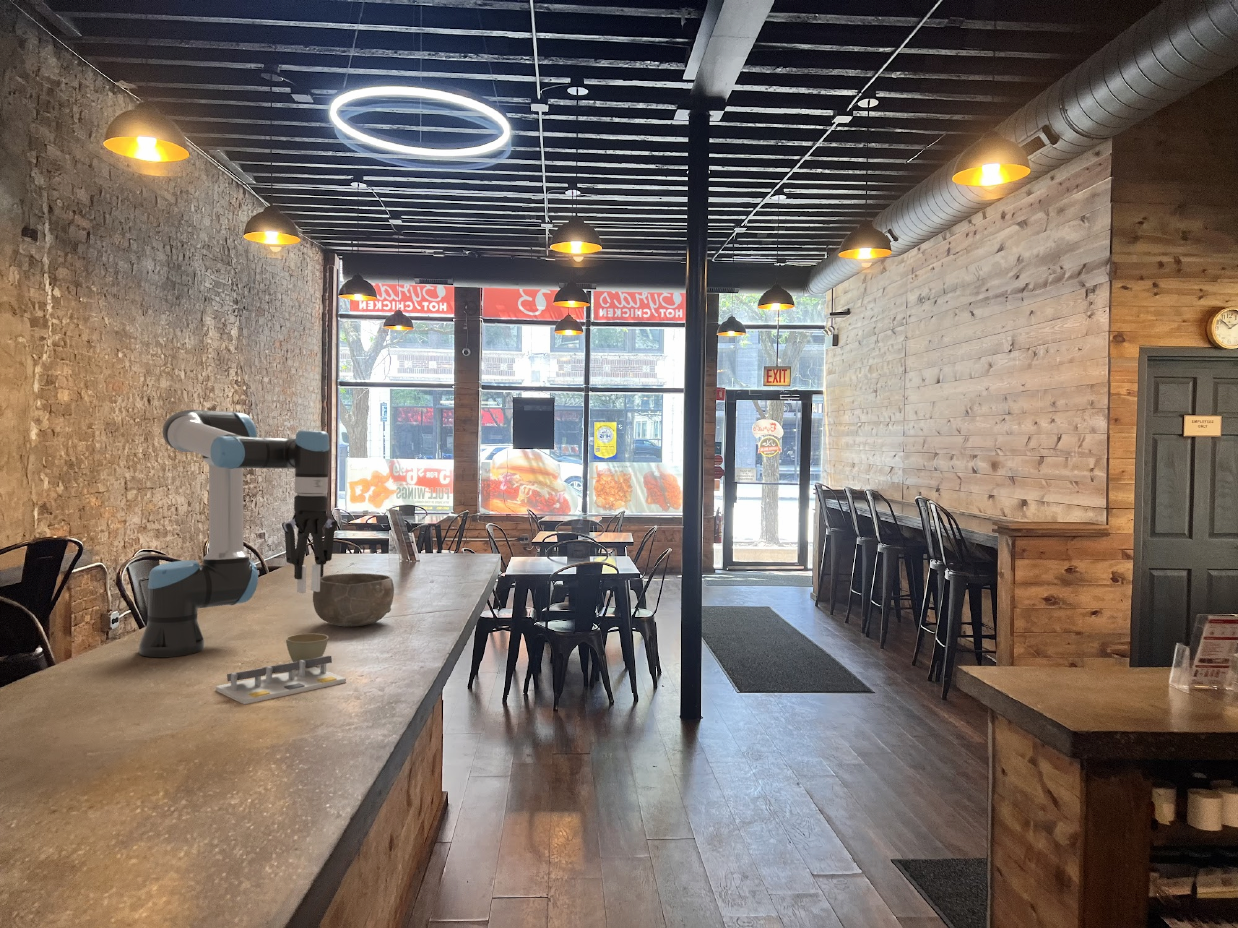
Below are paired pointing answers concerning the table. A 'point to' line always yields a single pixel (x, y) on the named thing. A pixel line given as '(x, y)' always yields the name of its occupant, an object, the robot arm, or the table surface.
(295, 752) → the table surface
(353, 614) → the bowl
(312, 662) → the rocker
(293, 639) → the flower pot
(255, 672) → the rocker
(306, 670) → the switch unit
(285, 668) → the rocker
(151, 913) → the table surface
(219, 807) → the table surface
